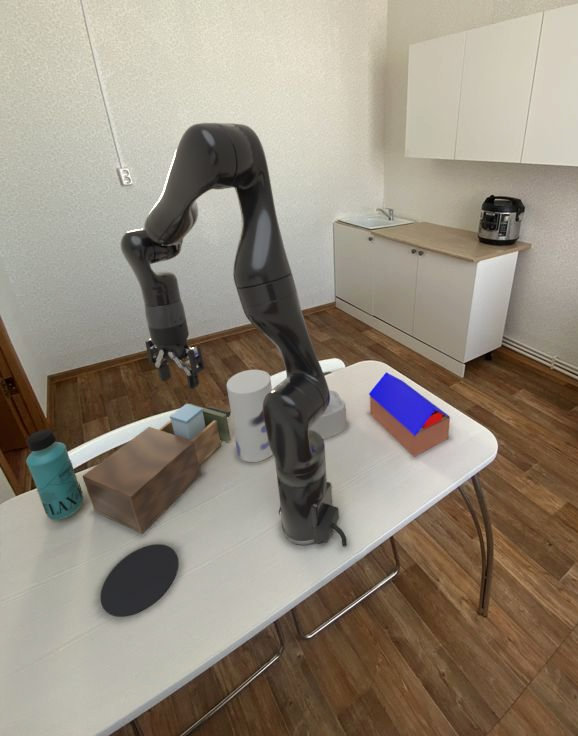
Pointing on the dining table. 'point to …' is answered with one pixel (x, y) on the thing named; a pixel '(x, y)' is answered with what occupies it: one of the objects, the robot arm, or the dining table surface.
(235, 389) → the container
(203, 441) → the drawer
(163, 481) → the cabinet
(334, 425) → the lumpy-topped squat cylinder
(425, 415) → the house
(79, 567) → the dining table surface
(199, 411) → the canister
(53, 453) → the beverage bottle
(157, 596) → the mat
